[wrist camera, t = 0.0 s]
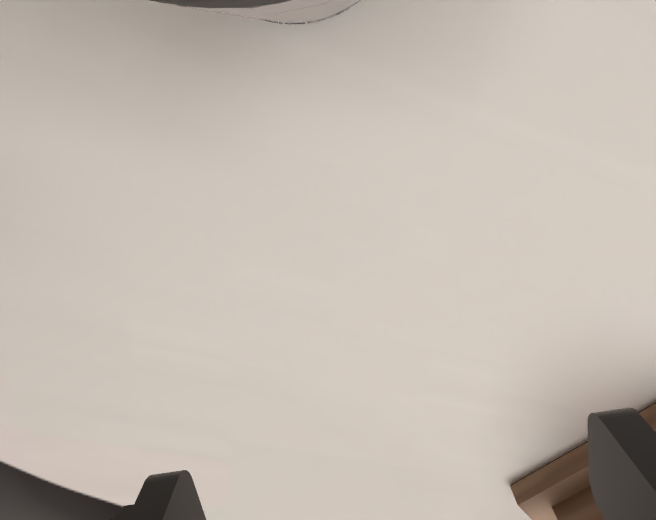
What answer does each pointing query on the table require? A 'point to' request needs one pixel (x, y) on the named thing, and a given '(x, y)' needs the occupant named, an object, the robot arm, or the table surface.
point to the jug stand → (564, 486)
